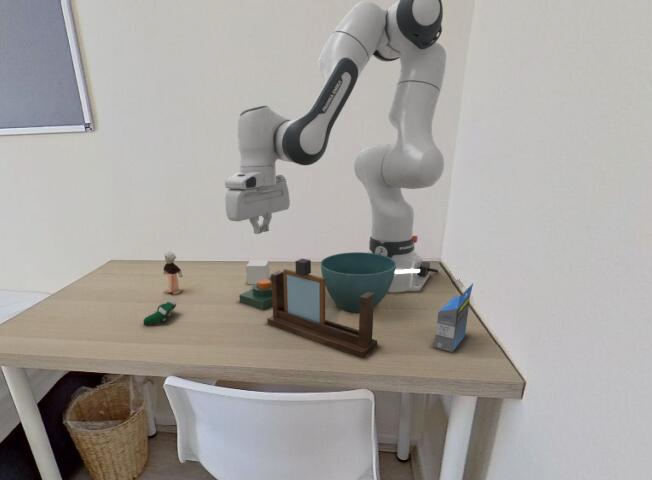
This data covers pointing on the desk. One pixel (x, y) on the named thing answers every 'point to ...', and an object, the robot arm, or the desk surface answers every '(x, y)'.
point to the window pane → (304, 292)
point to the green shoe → (160, 313)
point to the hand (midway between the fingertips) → (261, 232)
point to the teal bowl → (357, 278)
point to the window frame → (328, 332)
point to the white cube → (257, 271)
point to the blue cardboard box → (452, 322)
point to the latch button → (264, 284)
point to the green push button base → (257, 297)
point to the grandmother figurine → (172, 273)
